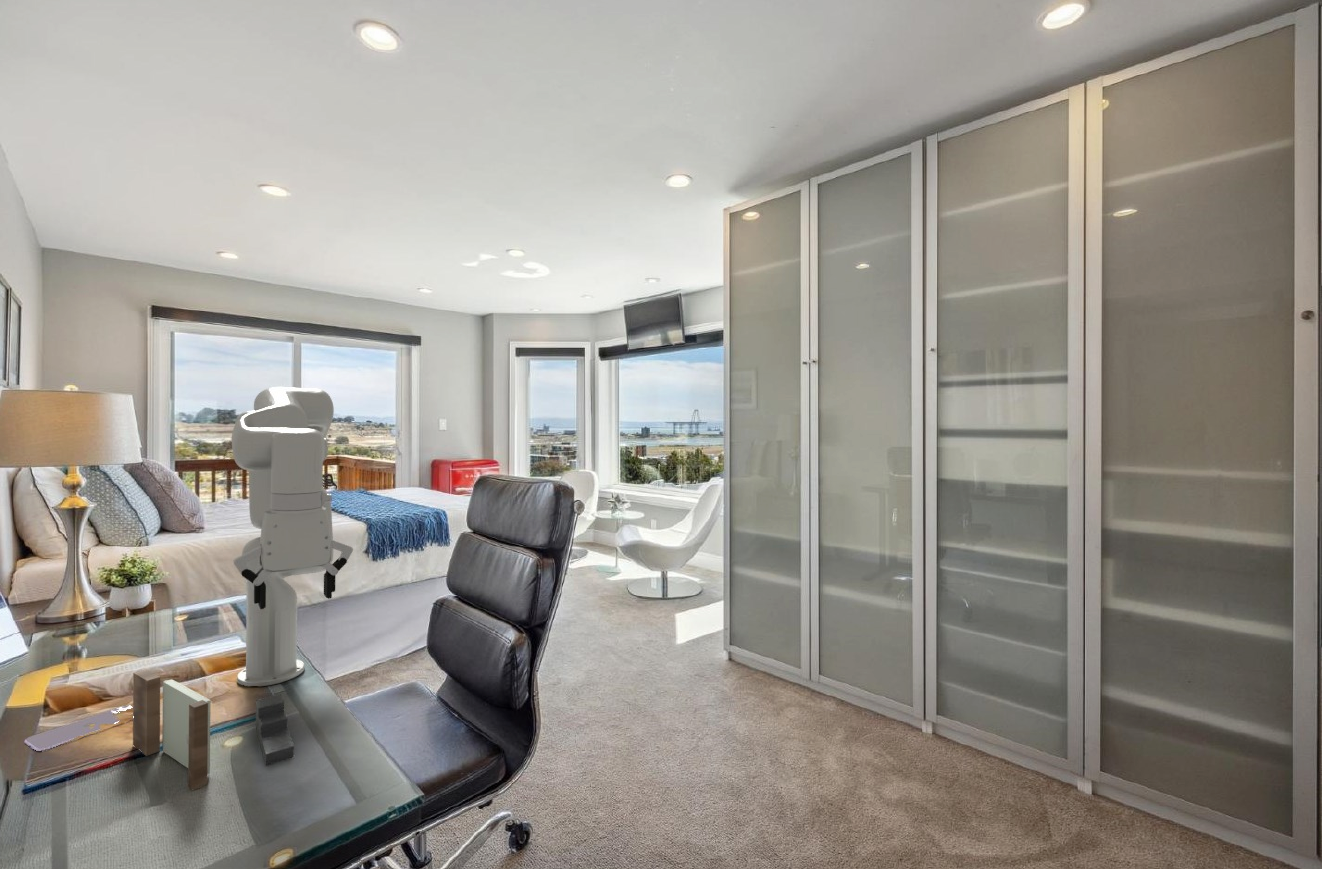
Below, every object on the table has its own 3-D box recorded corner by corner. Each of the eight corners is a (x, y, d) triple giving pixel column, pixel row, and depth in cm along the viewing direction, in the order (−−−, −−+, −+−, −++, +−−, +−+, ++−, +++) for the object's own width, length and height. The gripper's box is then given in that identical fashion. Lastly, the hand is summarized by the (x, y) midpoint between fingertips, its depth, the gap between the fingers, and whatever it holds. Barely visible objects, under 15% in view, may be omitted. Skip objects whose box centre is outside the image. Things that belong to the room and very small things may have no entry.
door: (153, 752, 99) (153, 682, 99) (169, 745, 101) (169, 677, 100) (193, 780, 91) (194, 705, 91) (209, 773, 93) (210, 700, 93)
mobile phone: (22, 737, 102) (130, 702, 115) (22, 743, 102) (130, 707, 115) (38, 749, 98) (148, 711, 112) (38, 755, 98) (148, 716, 112)
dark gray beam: (255, 726, 109) (256, 700, 108) (281, 719, 111) (281, 693, 111) (265, 766, 96) (266, 736, 96) (293, 757, 99) (294, 728, 99)
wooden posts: (132, 746, 101) (133, 672, 101) (145, 741, 103) (146, 669, 102) (193, 790, 90) (194, 707, 89) (207, 784, 91) (207, 702, 91)
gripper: (348, 496, 107) (346, 588, 107) (232, 503, 96) (231, 605, 96) (358, 501, 101) (356, 598, 102) (236, 509, 90) (235, 617, 90)
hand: (295, 601), depth 99 cm, fingers open, 9 cm apart
